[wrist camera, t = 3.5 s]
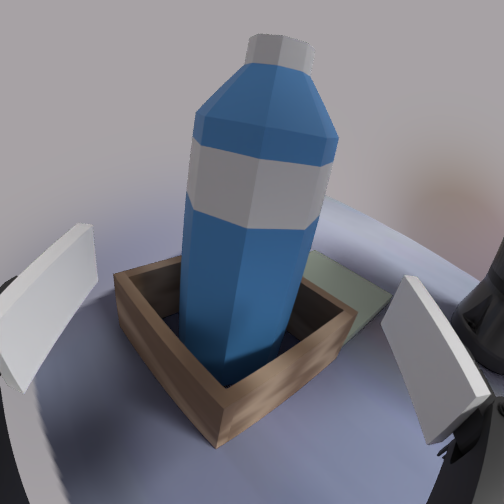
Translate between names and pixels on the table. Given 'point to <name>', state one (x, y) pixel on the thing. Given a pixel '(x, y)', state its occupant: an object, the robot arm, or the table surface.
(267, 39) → the water bottle
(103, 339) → the table surface
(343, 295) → the mat
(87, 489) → the table surface
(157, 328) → the wooden frame
